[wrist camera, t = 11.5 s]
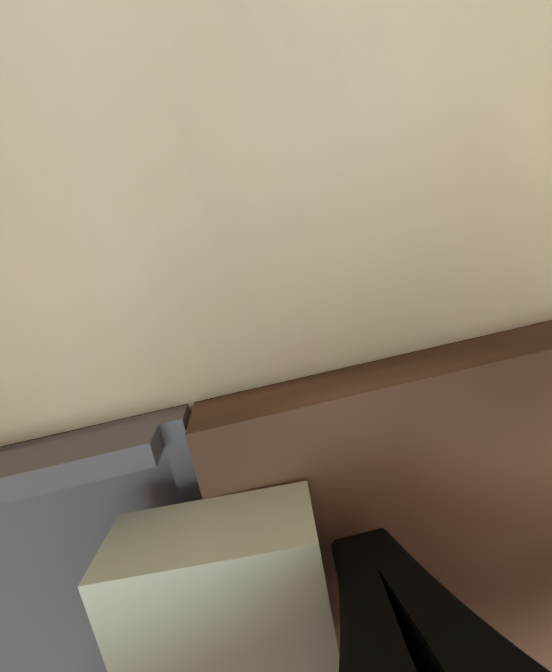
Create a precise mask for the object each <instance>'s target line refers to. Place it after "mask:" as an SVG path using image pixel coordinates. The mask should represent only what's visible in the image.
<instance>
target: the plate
mask: <svg viewBox="0 0 552 672" xmlns="http://www.w3.org/2000/svg"><path fill="white" fill-rule="evenodd" d="M185 437H186V441H187V444H188V448H189V452H190V455H191V459H192V462H193V466H194V470H195V473H196V477H197V480H198V484H199V488H200V491H201V495H202V498H203V499H207V498H213V497H219V496H224V495H230V494H235V493H241V492H246V491H252V490H258V489H263V488H269V487H274V486H280V485H285V484H291V483H296V482H302V481H307V483H308V488H309V493H310V499H311V504H312V510H313V515H314V520H315V526H316V531H317V537H318V542H319V547H320V553H321V558H322V564H323V569H324V575H325V580H326V586H327V591H328V596H329V602H330V607H331V613H332V618H333V624H334V629H335V635H336V640H337V645H338V651H339V652H340V607H339V587H338V579H337V574H336V569H335V564H334V559H333V554H332V549H331V544H332V543H333V541H334V540H336V539H340V538H344V537H348V536H352V535H356V534H360V533H364V532H368V531H372V530H375V529H379V528H384V529H385V530H387V531H388V532H389V533H390V534H391V535H392V536H393V537H394V538H395V540H396V541H397V542H398V543H399V544H400V545H401V546H402V547H403V548H404V549H405V550H406V551H407V552H408V553H409V554H410V555H411V556H412V557H413V558H414V559H415V560H416V561H417V562H418V563H419V564H421V565H422V566H423V567H424V568H425V569H426V570H427V571H428V572H429V573H430V574H431V575H432V576H433V577H434V578H435V579H437V580H438V581H439V582H440V583H441V584H442V585H443V586H444V587H446V588H447V589H448V590H449V591H450V592H451V593H452V594H453V595H455V596H456V597H457V598H458V599H459V600H460V601H461V602H462V603H464V604H465V605H466V606H467V607H468V608H470V609H471V610H472V611H473V612H474V613H476V614H477V615H478V616H479V617H480V618H482V619H483V620H484V621H485V622H486V623H488V624H489V625H490V626H491V627H493V628H494V629H495V630H496V631H498V632H499V633H500V634H501V635H503V636H504V637H505V638H506V639H508V640H509V641H510V642H512V643H513V644H514V645H516V646H517V647H518V648H519V649H521V650H522V651H523V652H525V653H526V654H527V655H529V656H530V657H531V658H533V659H534V660H535V661H537V662H538V663H540V664H541V665H542V666H544V667H545V668H546V669H548V670H549V671H551V672H552V321H548V322H543V323H539V324H535V325H530V326H526V327H522V328H517V329H513V330H509V331H504V332H500V333H496V334H491V335H487V336H482V337H478V338H474V339H469V340H465V341H461V342H456V343H452V344H448V345H443V346H439V347H435V348H430V349H426V350H421V351H417V352H413V353H408V354H404V355H400V356H395V357H391V358H387V359H382V360H378V361H374V362H369V363H365V364H361V365H356V366H352V367H347V368H343V369H339V370H334V371H330V372H326V373H321V374H317V375H313V376H308V377H304V378H300V379H295V380H291V381H287V382H282V383H278V384H273V385H269V386H265V387H260V388H256V389H252V390H247V391H243V392H239V393H234V394H230V395H226V396H221V397H217V398H213V399H208V400H204V401H199V402H195V403H194V406H193V409H192V412H191V416H190V419H189V423H188V426H187V429H186V433H185Z"/></svg>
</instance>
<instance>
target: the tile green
mask: <svg viewBox="0 0 552 672" xmlns="http://www.w3.org/2000/svg"><path fill="white" fill-rule="evenodd" d="M78 590H79V592H80V595H81V598H82V601H83V604H84V607H85V610H86V612H87V615H88V618H89V621H90V624H91V627H92V630H93V632H94V635H95V638H96V641H97V644H98V647H99V650H100V653H101V655H102V658H103V661H104V664H105V667H106V670H107V672H339V651H338V645H337V640H336V635H335V629H334V624H333V618H332V613H331V607H330V602H329V596H328V591H327V586H326V580H325V575H324V569H323V564H322V558H321V553H320V547H319V542H318V537H317V531H316V526H315V520H314V515H313V510H312V504H311V499H310V493H309V488H308V483H307V481H302V482H296V483H291V484H285V485H280V486H274V487H269V488H263V489H258V490H252V491H246V492H241V493H235V494H230V495H224V496H219V497H213V498H207V499H202V500H196V501H191V502H185V503H180V504H174V505H168V506H163V507H157V508H152V509H146V510H141V511H135V512H129V513H124V514H118V516H117V518H116V519H115V521H114V523H113V525H112V526H111V528H110V530H109V532H108V534H107V535H106V537H105V539H104V541H103V542H102V544H101V546H100V548H99V549H98V551H97V553H96V555H95V557H94V558H93V560H92V562H91V564H90V565H89V567H88V569H87V571H86V573H85V574H84V576H83V578H82V580H81V581H80V583H79V585H78Z"/></svg>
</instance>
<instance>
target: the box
mask: <svg viewBox="0 0 552 672" xmlns="http://www.w3.org/2000/svg"><path fill="white" fill-rule="evenodd" d="M189 419H190V413H189V409H188V405H187V404H186V405H182V406H178V407H173V408H169V409H165V410H160V411H156V412H152V413H147V414H143V415H138V416H134V417H130V418H125V419H121V420H117V421H112V422H108V423H104V424H99V425H95V426H91V427H86V428H82V429H78V430H73V431H69V432H64V433H60V434H56V435H51V436H47V437H43V438H38V439H34V440H30V441H25V442H21V443H17V444H12V445H8V446H4V447H0V672H107V670H106V667H105V664H104V661H103V658H102V655H101V653H100V650H99V647H98V644H97V641H96V638H95V635H94V632H93V630H92V627H91V624H90V621H89V618H88V615H87V612H86V610H85V607H84V604H83V601H82V598H81V595H80V592H79V590H78V585H79V583H80V581H81V580H82V578H83V576H84V574H85V573H86V571H87V569H88V567H89V565H90V564H91V562H92V560H93V558H94V557H95V555H96V553H97V551H98V549H99V548H100V546H101V544H102V542H103V541H104V539H105V537H106V535H107V534H108V532H109V530H110V528H111V526H112V525H113V523H114V521H115V519H116V518H117V516H118V514H124V513H129V512H135V511H141V510H146V509H152V508H157V507H163V506H168V505H174V504H180V503H185V502H191V501H196V500H202V499H203V498H202V495H201V491H200V488H199V484H198V480H197V477H196V473H195V470H194V466H193V462H192V459H191V455H190V452H189V448H188V444H187V441H186V437H185V433H186V429H187V426H188V423H189Z"/></svg>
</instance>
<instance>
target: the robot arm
mask: <svg viewBox="0 0 552 672" xmlns="http://www.w3.org/2000/svg"><path fill="white" fill-rule="evenodd" d="M331 549H332V554H333V559H334V564H335V569H336V574H337V579H338V587H339V607H340V652H339V672H551V671H549V670H548V669H546V668H545V667H544V666H542V665H541V664H540V663H538V662H537V661H535V660H534V659H533V658H531V657H530V656H529V655H527V654H526V653H525V652H523V651H522V650H521V649H519V648H518V647H517V646H516V645H514V644H513V643H512V642H510V641H509V640H508V639H506V638H505V637H504V636H503V635H501V634H500V633H499V632H498V631H496V630H495V629H494V628H493V627H491V626H490V625H489V624H488V623H486V622H485V621H484V620H483V619H482V618H480V617H479V616H478V615H477V614H476V613H474V612H473V611H472V610H471V609H470V608H468V607H467V606H466V605H465V604H464V603H462V602H461V601H460V600H459V599H458V598H457V597H456V596H455V595H453V594H452V593H451V592H450V591H449V590H448V589H447V588H446V587H444V586H443V585H442V584H441V583H440V582H439V581H438V580H437V579H435V578H434V577H433V576H432V575H431V574H430V573H429V572H428V571H427V570H426V569H425V568H424V567H423V566H422V565H421V564H419V563H418V562H417V561H416V560H415V559H414V558H413V557H412V556H411V555H410V554H409V553H408V552H407V551H406V550H405V549H404V548H403V547H402V546H401V545H400V544H399V543H398V542H397V541H396V540H395V538H394V537H393V536H392V535H391V534H390V533H389V532H388V531H387V530H385V529H384V528H379V529H375V530H372V531H368V532H364V533H360V534H356V535H352V536H348V537H344V538H340V539H336V540H334V541H333V543H332V544H331Z"/></svg>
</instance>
